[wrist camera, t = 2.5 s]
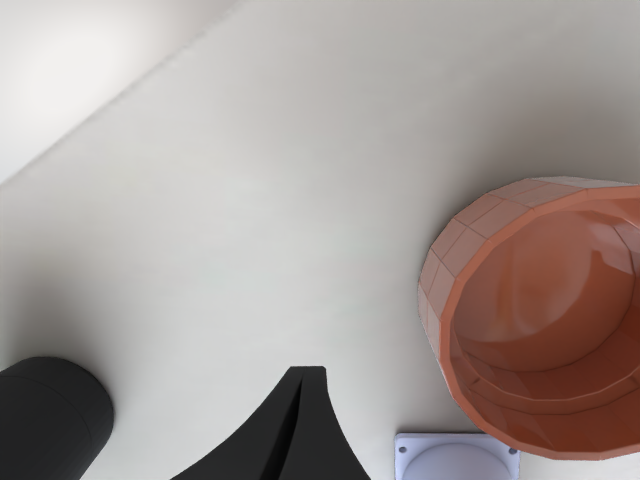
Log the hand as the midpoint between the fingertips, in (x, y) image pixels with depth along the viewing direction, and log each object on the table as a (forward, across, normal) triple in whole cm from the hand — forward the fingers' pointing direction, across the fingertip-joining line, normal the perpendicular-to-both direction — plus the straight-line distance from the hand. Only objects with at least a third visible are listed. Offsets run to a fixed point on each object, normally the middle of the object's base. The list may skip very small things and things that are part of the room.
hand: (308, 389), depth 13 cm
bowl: (+9, -12, 0) cm, 15 cm away
